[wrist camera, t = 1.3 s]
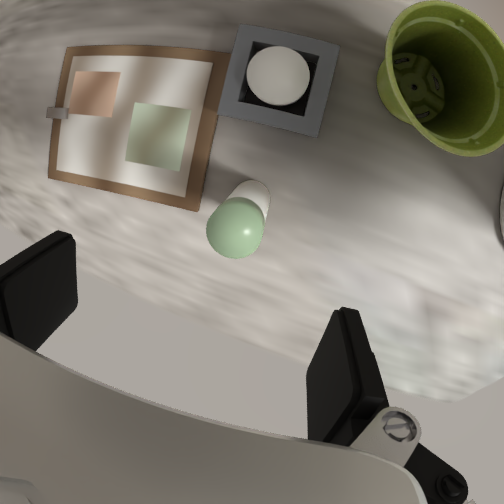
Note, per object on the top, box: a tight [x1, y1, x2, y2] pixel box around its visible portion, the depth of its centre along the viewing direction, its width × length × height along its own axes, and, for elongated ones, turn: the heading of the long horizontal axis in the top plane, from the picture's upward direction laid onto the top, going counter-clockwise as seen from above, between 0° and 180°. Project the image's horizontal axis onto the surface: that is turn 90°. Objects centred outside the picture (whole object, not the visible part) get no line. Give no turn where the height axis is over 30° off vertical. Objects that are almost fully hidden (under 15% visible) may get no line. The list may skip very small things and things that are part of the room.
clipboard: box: [46, 45, 232, 212], centre depth 23 cm, size 16×13×1 cm
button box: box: [217, 24, 340, 138], centre depth 20 cm, size 7×7×3 cm
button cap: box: [247, 46, 310, 106], centre depth 19 cm, size 4×4×2 cm
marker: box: [206, 180, 270, 259], centre depth 21 cm, size 3×3×8 cm
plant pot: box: [377, 0, 504, 157], centre depth 16 cm, size 9×9×9 cm
